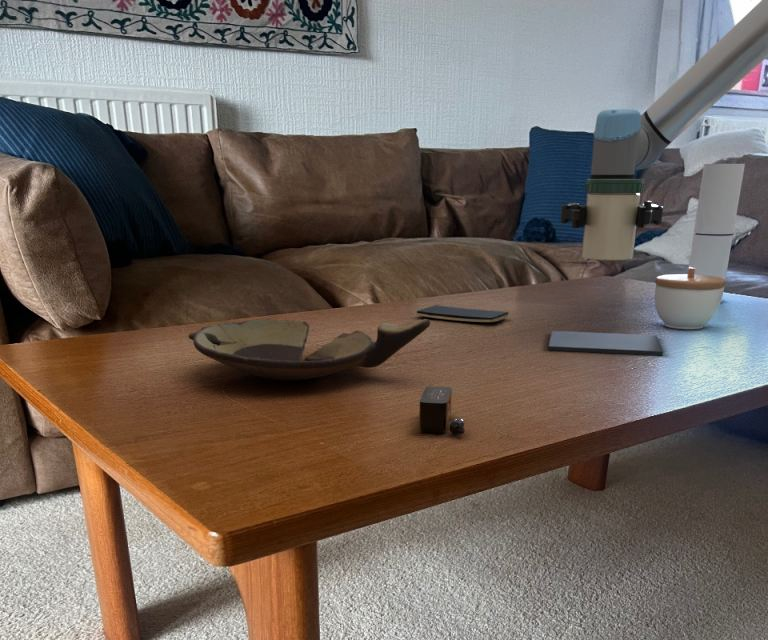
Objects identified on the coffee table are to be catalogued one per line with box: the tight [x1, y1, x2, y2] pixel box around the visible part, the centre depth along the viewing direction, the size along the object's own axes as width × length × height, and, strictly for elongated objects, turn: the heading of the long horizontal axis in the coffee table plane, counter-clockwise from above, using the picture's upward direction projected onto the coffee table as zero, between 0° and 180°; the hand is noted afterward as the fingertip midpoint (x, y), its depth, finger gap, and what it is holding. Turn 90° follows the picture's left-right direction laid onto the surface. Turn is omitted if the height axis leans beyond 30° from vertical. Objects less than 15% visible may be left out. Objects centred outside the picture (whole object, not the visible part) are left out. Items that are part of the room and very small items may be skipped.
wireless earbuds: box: [418, 385, 465, 435], centre depth 80 cm, size 5×7×3 cm, turn 170°
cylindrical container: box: [687, 163, 746, 303], centre depth 151 cm, size 7×7×25 cm
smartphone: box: [416, 304, 510, 323], centre depth 138 cm, size 7×1×15 cm
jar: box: [580, 193, 641, 261], centre depth 117 cm, size 8×8×10 cm
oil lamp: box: [188, 318, 431, 382], centre depth 99 cm, size 22×30×8 cm
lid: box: [584, 178, 645, 194], centre depth 115 cm, size 8×8×2 cm
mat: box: [547, 330, 664, 356], centre depth 118 cm, size 16×12×1 cm
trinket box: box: [654, 267, 726, 330], centre depth 129 cm, size 11×11×9 cm
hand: (611, 217), depth 112 cm, fingers closed on jar, 8 cm apart
